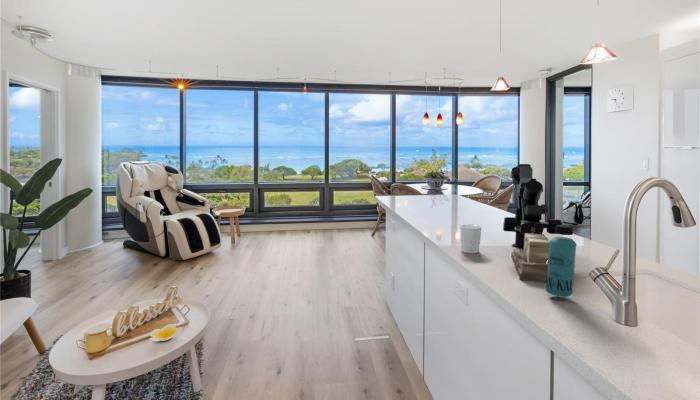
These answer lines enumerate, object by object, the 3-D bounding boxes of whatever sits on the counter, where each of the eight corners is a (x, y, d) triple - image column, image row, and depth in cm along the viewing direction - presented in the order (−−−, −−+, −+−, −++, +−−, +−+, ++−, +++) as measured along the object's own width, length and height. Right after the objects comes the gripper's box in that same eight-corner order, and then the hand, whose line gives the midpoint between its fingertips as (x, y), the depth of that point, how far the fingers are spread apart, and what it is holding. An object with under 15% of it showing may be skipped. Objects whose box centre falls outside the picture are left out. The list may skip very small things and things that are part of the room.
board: (511, 256, 141) (512, 243, 140) (546, 259, 137) (547, 245, 137) (520, 279, 116) (520, 263, 116) (563, 283, 113) (564, 266, 112)
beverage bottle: (546, 291, 107) (551, 222, 104) (573, 296, 103) (579, 224, 100) (543, 299, 101) (548, 226, 99) (571, 304, 98) (577, 229, 95)
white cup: (481, 254, 145) (482, 228, 143) (460, 253, 146) (461, 228, 145) (478, 249, 152) (480, 224, 151) (458, 248, 154) (459, 224, 153)
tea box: (522, 258, 133) (524, 232, 131) (542, 259, 131) (543, 234, 130) (528, 269, 120) (530, 241, 119) (549, 271, 118) (551, 243, 117)
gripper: (505, 195, 137) (506, 231, 128) (563, 196, 131) (568, 234, 122) (502, 213, 145) (503, 248, 136) (556, 215, 140) (561, 252, 131)
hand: (533, 245), depth 131 cm, fingers closed, pressing on tea box
